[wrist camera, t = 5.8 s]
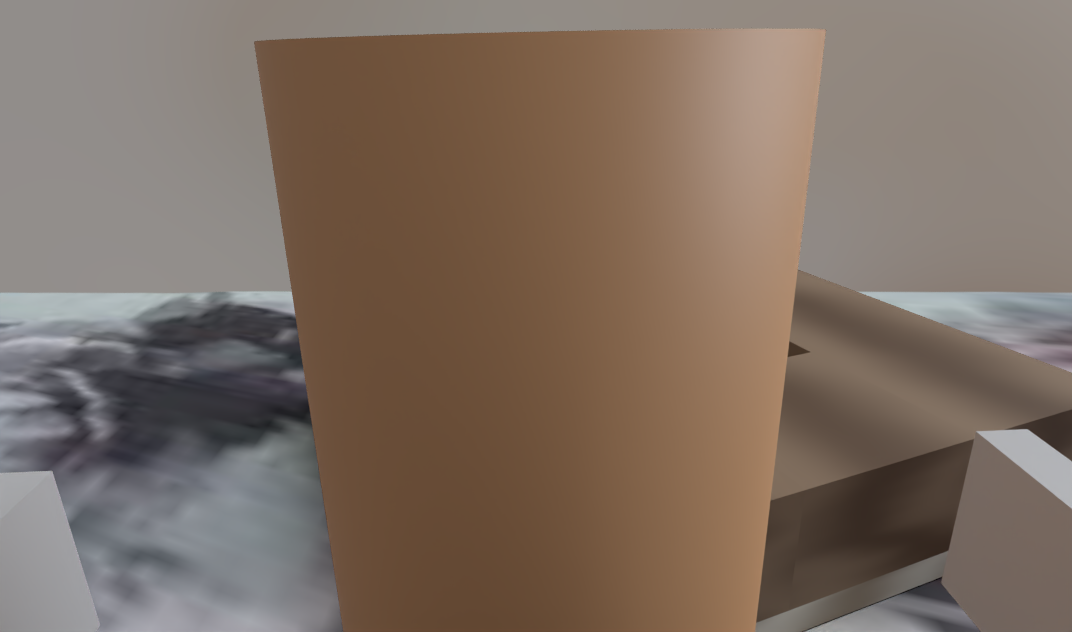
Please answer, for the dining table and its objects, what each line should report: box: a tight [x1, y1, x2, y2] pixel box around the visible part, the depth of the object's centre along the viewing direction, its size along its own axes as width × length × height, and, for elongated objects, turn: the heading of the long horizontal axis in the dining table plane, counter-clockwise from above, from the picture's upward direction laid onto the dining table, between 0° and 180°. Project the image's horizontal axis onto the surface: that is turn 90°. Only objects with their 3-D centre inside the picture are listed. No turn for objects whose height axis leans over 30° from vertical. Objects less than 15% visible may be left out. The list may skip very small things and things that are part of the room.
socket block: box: [755, 270, 1072, 632], centre depth 29 cm, size 20×20×5 cm
